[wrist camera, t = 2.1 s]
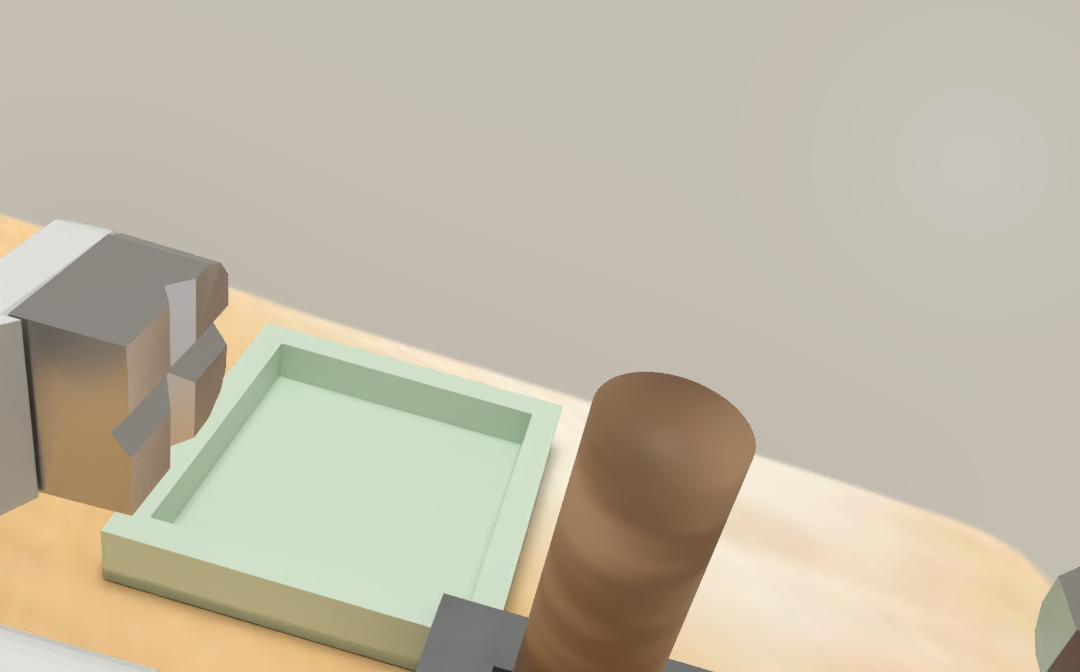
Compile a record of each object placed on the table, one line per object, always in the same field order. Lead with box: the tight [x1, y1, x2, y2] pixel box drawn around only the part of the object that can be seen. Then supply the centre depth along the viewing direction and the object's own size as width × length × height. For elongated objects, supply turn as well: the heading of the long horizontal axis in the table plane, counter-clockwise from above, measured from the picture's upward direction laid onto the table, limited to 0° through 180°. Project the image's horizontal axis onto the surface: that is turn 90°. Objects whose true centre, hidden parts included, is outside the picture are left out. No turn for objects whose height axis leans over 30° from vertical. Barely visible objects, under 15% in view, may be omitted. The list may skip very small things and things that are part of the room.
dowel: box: [513, 372, 756, 672], centre depth 28 cm, size 4×4×16 cm
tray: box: [101, 323, 562, 671], centre depth 42 cm, size 14×14×2 cm
